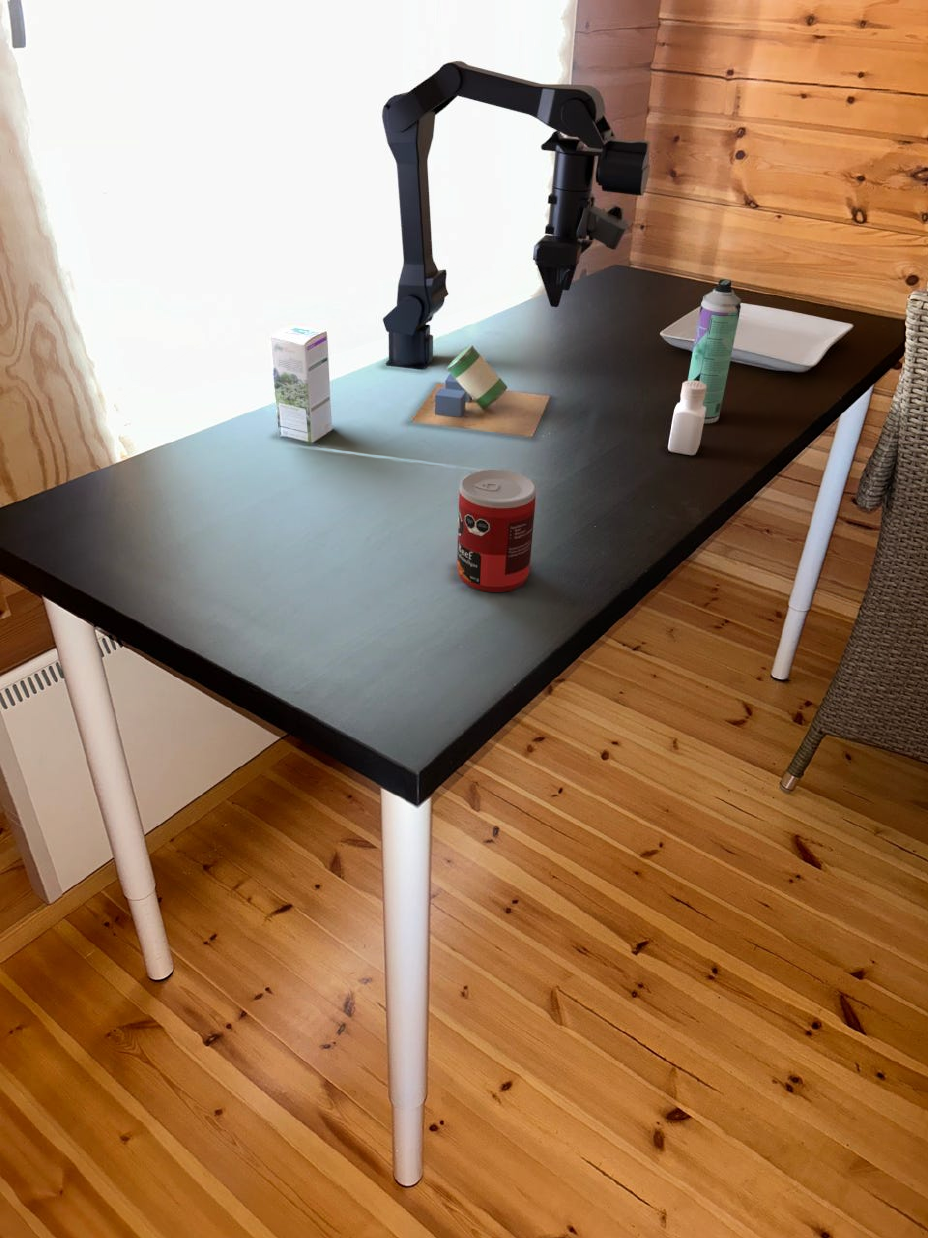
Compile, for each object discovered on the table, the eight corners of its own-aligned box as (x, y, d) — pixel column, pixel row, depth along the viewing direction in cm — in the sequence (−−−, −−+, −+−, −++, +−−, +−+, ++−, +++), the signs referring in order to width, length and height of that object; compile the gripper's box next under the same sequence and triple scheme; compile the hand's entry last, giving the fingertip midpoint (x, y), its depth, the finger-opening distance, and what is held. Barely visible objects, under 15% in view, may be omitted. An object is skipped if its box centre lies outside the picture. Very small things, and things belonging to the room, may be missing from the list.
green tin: (442, 409, 141) (443, 349, 136) (450, 397, 145) (452, 338, 140) (502, 417, 140) (506, 356, 135) (508, 404, 144) (512, 345, 139)
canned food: (454, 557, 107) (456, 469, 101) (523, 556, 108) (531, 468, 102) (459, 594, 101) (462, 503, 95) (533, 593, 102) (541, 502, 96)
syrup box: (334, 430, 135) (329, 329, 127) (311, 446, 130) (304, 341, 122) (299, 422, 137) (292, 322, 128) (276, 437, 132) (267, 334, 124)
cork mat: (410, 423, 138) (410, 421, 138) (437, 384, 151) (437, 382, 150) (532, 439, 135) (532, 436, 135) (550, 398, 148) (550, 395, 147)
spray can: (716, 410, 146) (742, 276, 134) (720, 424, 141) (748, 287, 130) (680, 407, 146) (703, 274, 135) (683, 422, 142) (707, 284, 130)
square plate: (850, 342, 175) (856, 321, 172) (808, 386, 155) (814, 363, 153) (709, 314, 186) (713, 294, 184) (654, 352, 167) (657, 330, 165)
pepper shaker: (666, 452, 133) (677, 387, 127) (671, 441, 136) (682, 377, 130) (695, 457, 132) (707, 391, 126) (699, 446, 135) (711, 381, 129)
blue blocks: (434, 414, 140) (434, 394, 138) (449, 392, 147) (449, 373, 145) (460, 417, 139) (461, 398, 138) (474, 395, 147) (475, 376, 145)
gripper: (619, 206, 126) (603, 323, 135) (636, 181, 141) (621, 288, 150) (537, 197, 128) (527, 313, 137) (562, 173, 143) (551, 279, 152)
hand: (560, 297), depth 144 cm, fingers open, 9 cm apart
